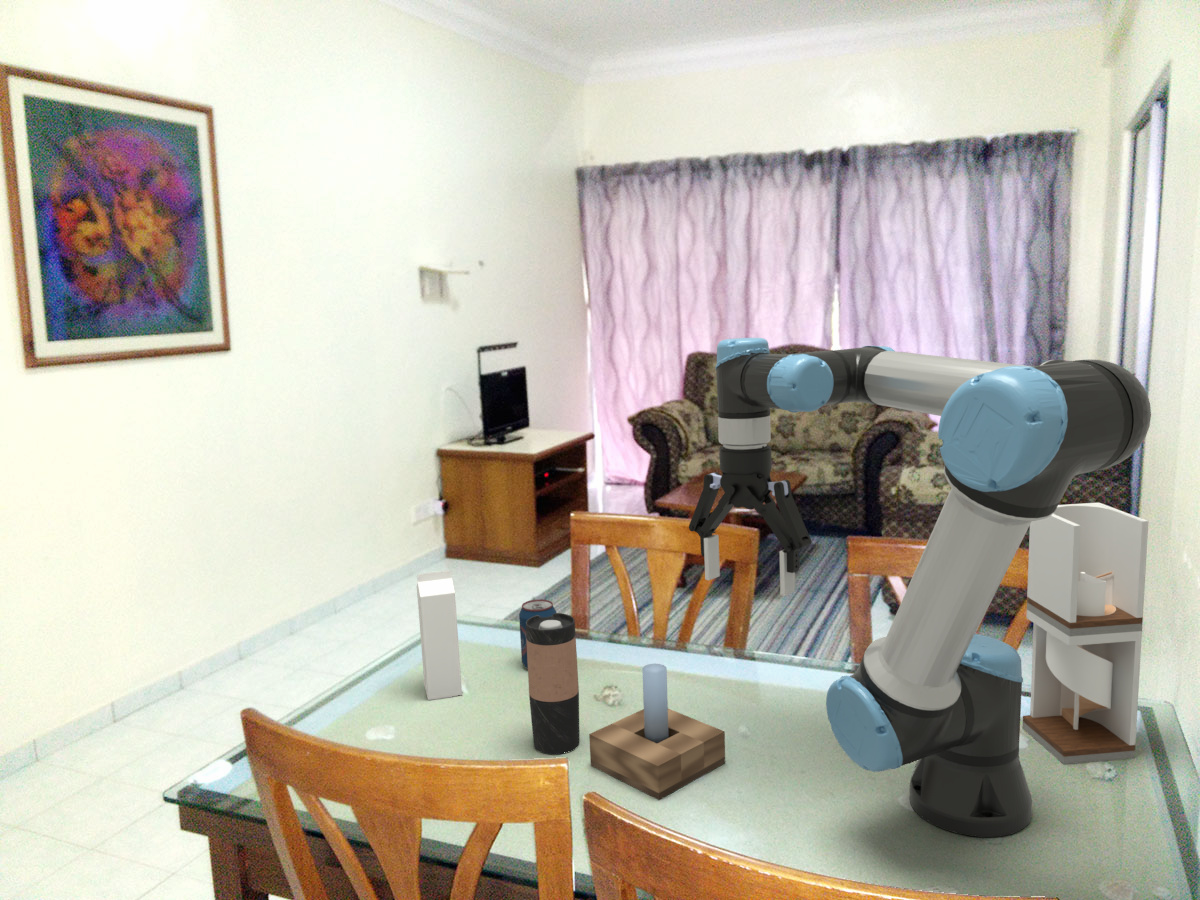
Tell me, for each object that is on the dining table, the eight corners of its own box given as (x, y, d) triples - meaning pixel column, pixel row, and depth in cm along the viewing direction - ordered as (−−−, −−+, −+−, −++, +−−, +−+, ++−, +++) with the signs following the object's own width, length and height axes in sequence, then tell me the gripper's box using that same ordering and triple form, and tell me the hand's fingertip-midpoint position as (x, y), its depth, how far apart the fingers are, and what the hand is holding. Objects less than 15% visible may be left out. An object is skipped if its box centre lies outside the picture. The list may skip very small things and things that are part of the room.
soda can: (519, 661, 185) (515, 600, 183) (555, 656, 187) (552, 596, 184) (525, 675, 178) (521, 612, 176) (562, 670, 180) (559, 608, 178)
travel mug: (563, 760, 146) (556, 633, 143) (522, 748, 150) (514, 625, 147) (590, 738, 153) (585, 616, 149) (550, 728, 157) (544, 609, 153)
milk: (462, 695, 171) (454, 574, 167) (427, 701, 169) (418, 579, 165) (457, 682, 177) (449, 565, 173) (423, 687, 175) (415, 569, 171)
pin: (674, 758, 143) (671, 668, 141) (657, 766, 141) (654, 675, 139) (657, 750, 146) (654, 661, 144) (640, 758, 144) (637, 668, 141)
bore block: (725, 763, 143) (724, 731, 142) (659, 799, 134) (657, 766, 133) (656, 733, 154) (655, 703, 153) (590, 765, 144) (589, 734, 143)
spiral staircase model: (1022, 728, 150) (1030, 506, 144) (1088, 722, 151) (1099, 502, 145) (1063, 764, 139) (1074, 525, 133) (1134, 758, 140) (1148, 521, 134)
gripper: (834, 446, 136) (836, 593, 140) (693, 435, 153) (698, 566, 157) (805, 455, 131) (807, 607, 134) (662, 442, 148) (668, 577, 151)
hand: (749, 585), depth 146 cm, fingers open, 13 cm apart
